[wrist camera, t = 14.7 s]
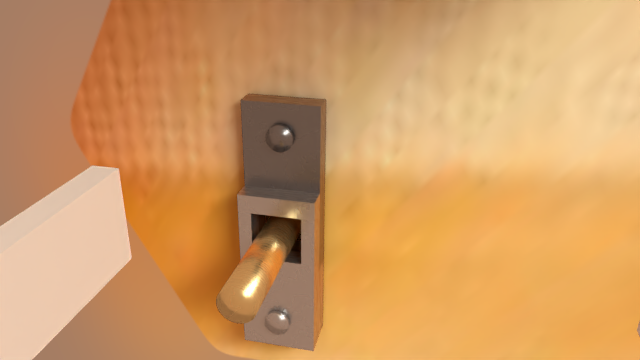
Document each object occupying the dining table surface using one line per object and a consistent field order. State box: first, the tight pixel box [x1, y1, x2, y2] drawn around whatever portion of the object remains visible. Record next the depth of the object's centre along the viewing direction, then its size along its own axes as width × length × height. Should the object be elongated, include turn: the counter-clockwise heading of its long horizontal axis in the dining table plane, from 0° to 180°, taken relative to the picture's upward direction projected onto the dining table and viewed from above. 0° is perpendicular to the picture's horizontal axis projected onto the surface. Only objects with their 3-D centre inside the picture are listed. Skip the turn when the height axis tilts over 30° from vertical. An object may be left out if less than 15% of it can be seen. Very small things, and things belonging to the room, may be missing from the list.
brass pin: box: [216, 216, 301, 324], centre depth 49 cm, size 3×3×14 cm
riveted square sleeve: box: [237, 94, 326, 351], centre depth 53 cm, size 24×7×5 cm, turn 179°
